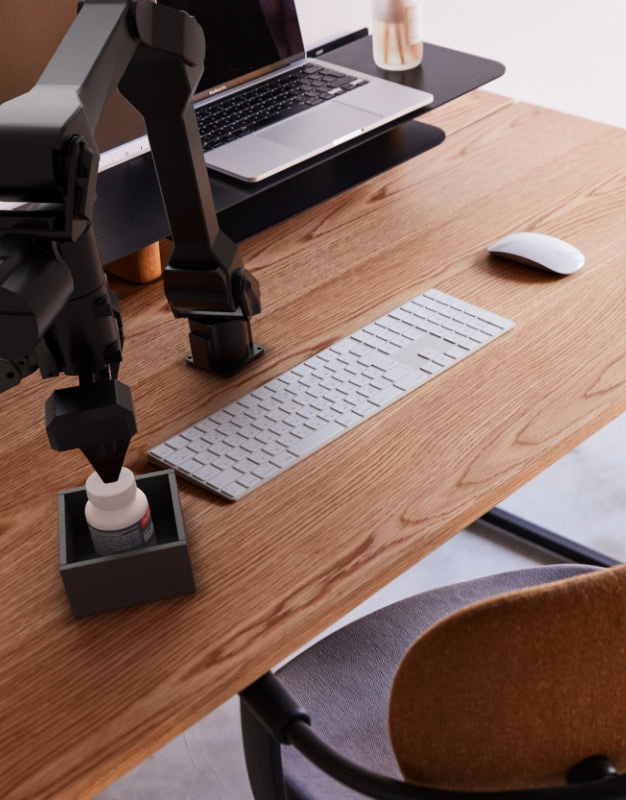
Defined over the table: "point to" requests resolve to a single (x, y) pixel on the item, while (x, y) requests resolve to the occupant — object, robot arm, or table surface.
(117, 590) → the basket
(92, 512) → the pill bottle
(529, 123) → the table surface
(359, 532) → the table surface
